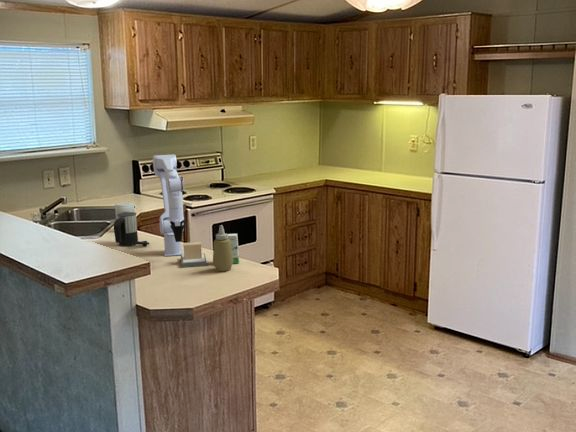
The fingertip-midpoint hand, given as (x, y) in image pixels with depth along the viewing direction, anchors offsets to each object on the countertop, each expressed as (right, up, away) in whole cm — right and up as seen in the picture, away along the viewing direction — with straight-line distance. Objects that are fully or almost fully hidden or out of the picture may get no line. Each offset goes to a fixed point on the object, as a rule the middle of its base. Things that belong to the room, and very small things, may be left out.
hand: (178, 239), depth 260 cm
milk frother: (-27, -4, +35) cm, 44 cm away
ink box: (+21, -10, 0) cm, 23 cm away
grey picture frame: (+6, -9, +2) cm, 11 cm away
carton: (+6, -8, +2) cm, 10 cm away
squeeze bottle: (+20, -12, -10) cm, 25 cm away
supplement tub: (-38, +2, +66) cm, 76 cm away
